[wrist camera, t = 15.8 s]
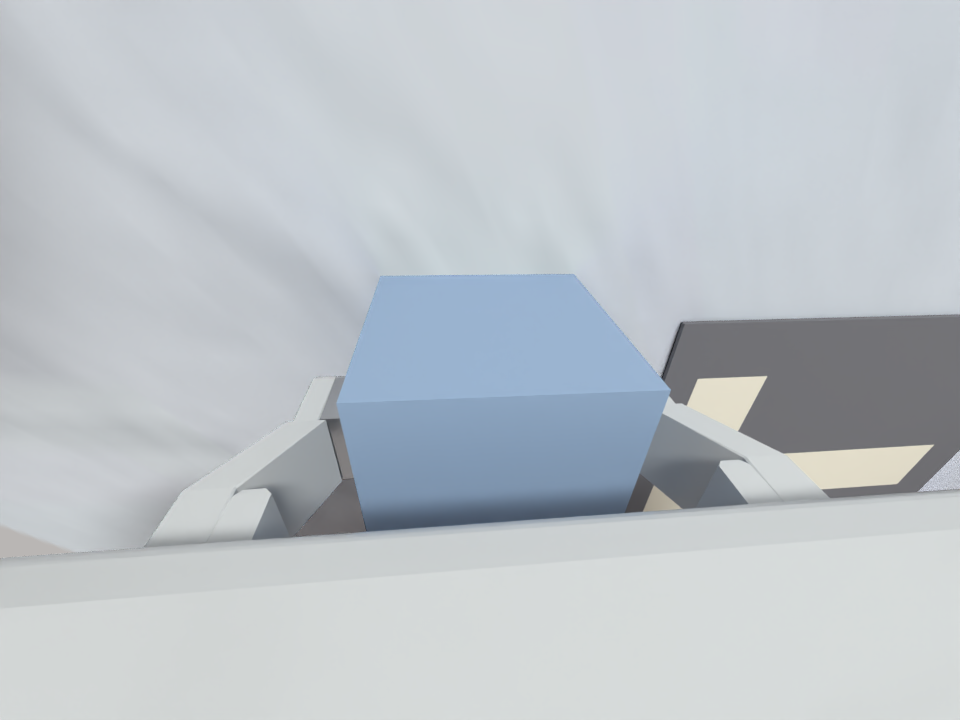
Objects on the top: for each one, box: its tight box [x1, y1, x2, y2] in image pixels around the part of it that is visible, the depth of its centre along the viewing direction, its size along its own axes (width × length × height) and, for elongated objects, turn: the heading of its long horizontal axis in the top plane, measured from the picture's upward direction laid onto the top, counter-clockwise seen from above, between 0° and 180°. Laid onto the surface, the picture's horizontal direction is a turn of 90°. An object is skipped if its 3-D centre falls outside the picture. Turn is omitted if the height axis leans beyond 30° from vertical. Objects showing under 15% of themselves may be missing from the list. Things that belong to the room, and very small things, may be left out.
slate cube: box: [336, 274, 671, 532], centre depth 9 cm, size 5×5×5 cm
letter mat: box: [625, 315, 960, 513], centre depth 15 cm, size 14×14×1 cm
